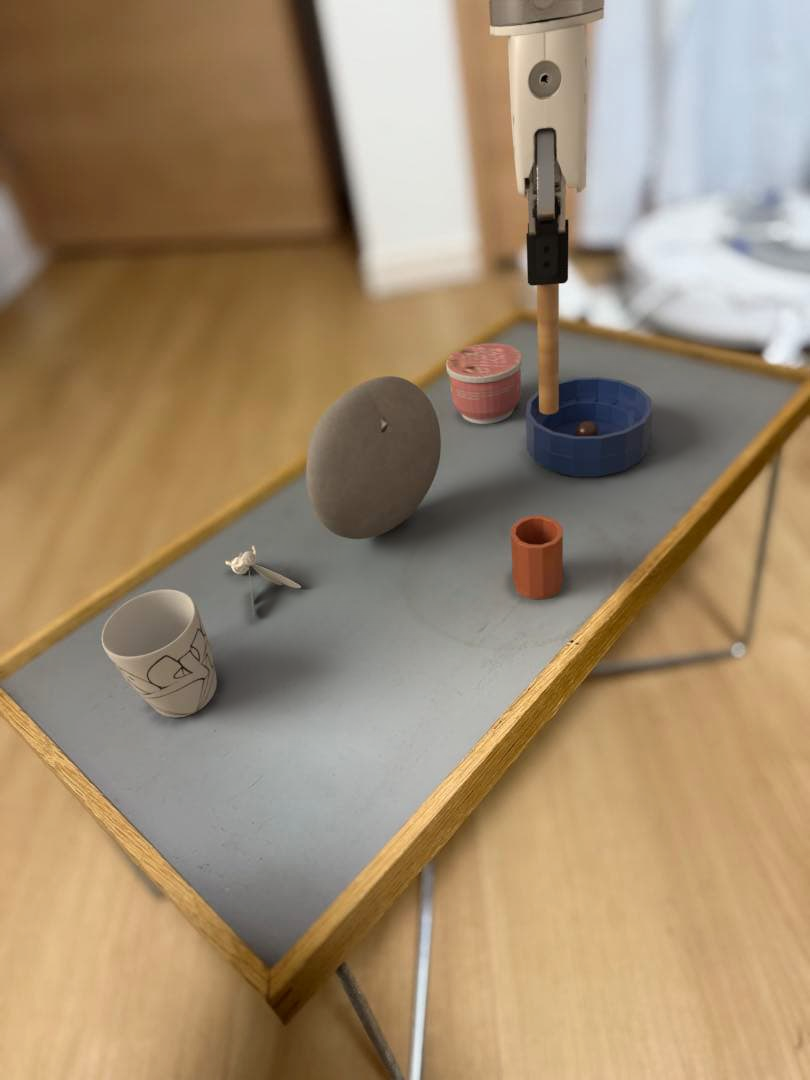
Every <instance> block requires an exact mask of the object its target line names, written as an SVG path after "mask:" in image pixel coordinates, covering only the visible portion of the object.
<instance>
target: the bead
mask: <svg viewBox="0 0 810 1080" xmlns="http://www.w3.org/2000/svg"><path fill="white" fill-rule="evenodd" d="M575 436H599V428H598V426H597V425H596V424H595V423H594V422H591V421H584V422H582V423H580V424H579V425H578V426H577V428H576V430H575Z"/></svg>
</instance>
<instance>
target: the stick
mask: <svg viewBox="0 0 810 1080" xmlns="http://www.w3.org/2000/svg"><path fill="white" fill-rule="evenodd" d="M536 306H537V307H536V309H537V310H536V314H537V315H536V318H537V321H536V322H537V323H536V325H537V367H538V368H537V369H538V370H537V371H538V374H537V376H538V390H539V411H540V412H541V413H542V414H554V413H556V412H557V411H558V410H559V382H560V374H559V373H560V362H559V360H560V353H559V352H560V331H559V330H560V284H549V285H536Z"/></svg>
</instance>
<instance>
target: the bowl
mask: <svg viewBox="0 0 810 1080" xmlns="http://www.w3.org/2000/svg"><path fill="white" fill-rule="evenodd" d="M653 413H654V410H653V403H652V398H651V396H650V395H648V394H647V393H646V392H645V391H644V390H643V389H642V388H641V387H639V386H637V385H634V384H632V383H630V382H628V381H624V380H623V379H622V380H621V379H616V378H608V377H604V376H603V377H602V376H587V377H586V376H585V377H574V378H569V379H565V380H564V379H563V380H559V410H558V411H557V412H556V413H554V414H542V413H541V412H540V411H539V389H538V390H536V392H535V393H534V394H533V395H532V396H531V397H530V398H529V399H528V400H527V401H526V409H525V430H526V432H525V433H526V435H525V436H526V450H527V452H528V453H529V455H530V456H531V458H532V460H533V461H534V462H535V463H537V464H538V465H540V466H542V467H543V468H545V469H547V470H549V471H551V472H555V473H559V474H562V475H563V474H564V475H568V476H572V477H603V476H606V475H611V474H615V473H619V472H624V471H626V470H627V469H629V468H630V467H632V466H635V465H636V464H637V463H639V462H640V461H642V460H643V458H644V456H645V455H646V453H648V450H649V449H650V446H651V445H650V444H651V443H650V442H651V434H652V423H653V422H652V421H653ZM584 421H591V422H594V423H595V424H596V425H597V426H598V428H599V436H575V430H576V428H577V426H578V425H579V424H580V423H582V422H584Z"/></svg>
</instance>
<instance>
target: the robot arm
mask: <svg viewBox="0 0 810 1080" xmlns="http://www.w3.org/2000/svg"><path fill="white" fill-rule="evenodd" d="M488 15H489V17H488V19H489V35H490V36H494V37H507V44H508V45H507V50H508V53H507V54H508V75H509V77H508V78H509V79H508V80H509V97H510V117H511V118H510V120H511V135H512V145H513V146H512V147H513V158H514V159H513V160H514V166H515V167H514V168H515V179H516V187H517V193H518V194H519V195H520V196H521V197H523V198H525V199H527V205H528V206H527V207H528V210H527V211H528V222H527V232H526V235H525V236H526V237H525V238H526V270H527V271H526V272H527V273H526V274H527V283H528V285H529V286H532V287H533V286H537V285H549V284H559V285H561V284H565V283H567V282H568V280H569V234H570V233H569V219H568V218H567V219H566V197H567V189H566V187H567V188H568V189H575V188H576V194H577V193H578V194H579V193H582V192H583V191H584V189H585V188H586V186H587V159H588V158H587V156H588V155H587V154H588V153H587V152H588V117H589V114H588V113H589V39H588V24H590V23H594V22H597V21H600V20H603V19H604V18H605V0H488ZM566 185H567V186H566Z"/></svg>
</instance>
